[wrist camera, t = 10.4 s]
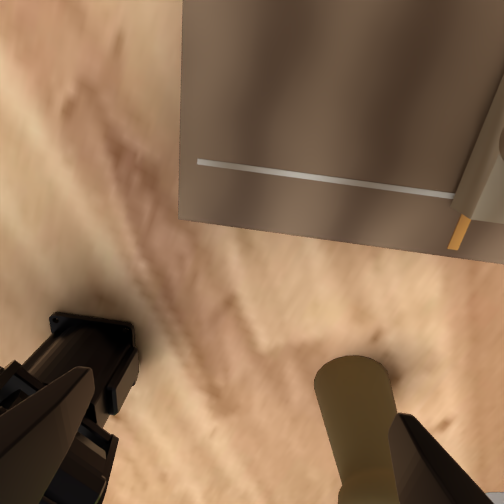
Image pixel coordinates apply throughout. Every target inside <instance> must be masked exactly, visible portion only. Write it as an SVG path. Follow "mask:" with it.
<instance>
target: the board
mask: <svg viewBox="0 0 504 504" xmlns="http://www.w3.org/2000/svg"><path fill="white" fill-rule="evenodd" d="M503 75H504V0H183V15H182V61H181V107H180V154H179V200H178V219H180V220H187V221H194V222H202V223H209V224H216V225H223V226H230V227H238V228H245V229H252V230H259V231H266V232H274V233H281V234H288V235H295V236H303V237H310V238H317V239H324V240H331V241H339V242H346V243H353V244H360V245H367V246H375V247H382V248H389V249H396V250H403V251H411V252H418V253H425V254H432V255H440V256H447V257H454V258H461V259H468V260H476V261H483V262H490V263H497V264H504V224H501V223H493V222H486V221H479V220H471V219H469V218H467V217H466V216H464V215H463V214H461V213H459V212H458V211H456V210H455V209H453V208H451V207H450V206H451V204H452V201H453V199H454V196H455V194H456V191H457V189H458V186H459V184H460V181H461V179H462V176H463V174H464V171H465V169H466V166H467V164H468V161H469V159H470V156H471V154H472V151H473V149H474V146H475V144H476V142H477V139H478V137H479V134H480V132H481V129H482V127H483V124H484V122H485V119H486V117H487V114H488V112H489V109H490V107H491V104H492V102H493V99H494V97H495V94H496V92H497V89H498V87H499V84H500V82H501V79H502V77H503Z"/></svg>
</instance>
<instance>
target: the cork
mask: <svg viewBox="0 0 504 504" xmlns="http://www.w3.org/2000/svg"><path fill="white" fill-rule="evenodd" d="M314 389H315V393H316V396H317V400H318V403H319V406H320V410H321V413H322V417H323V420H324V424H325V427H326V430H327V434H328V437H329V441H330V444H331V448H332V451H333V454H334V458H335V461H336V465H337V468H338V471H339V475H340V478H341V482H342V487H341V489H340V491H339V495H338V504H400V503H399V499H398V494H397V489H396V483H395V477H394V471H393V465H392V460H391V454H390V448H389V442H388V431H389V428H390V426H391V424H392V422H393V420H394V417H395V415H396V414H397V409H396V405H395V400H394V396H393V392H392V387H391V383H390V379H389V376H388V373H387V371H386V369H385V368H384V367H383V366H382V365H381V364H380V363H378V362H376V361H374V360H373V359H371V358H367V357H362V356H345V357H341V358H337V359H334V360H332V361H330V362H328V363H327V364H325V365H324V366H323V367H322V368H321V369H320V370H319V371H318V372H317V375H316V377H315V379H314Z"/></svg>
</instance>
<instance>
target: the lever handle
mask: <svg viewBox="0 0 504 504" xmlns="http://www.w3.org/2000/svg"><path fill="white" fill-rule="evenodd" d="M450 207H451V208H453V209H455V210H456V211H458V212H459V213H461V214H463V215H464V216H466V217H467V218H469V219H471V220H479V221H486V222H493V223H501V224H504V75H503V77H502V79H501V82H500V84H499V87H498V89H497V92H496V94H495V97H494V99H493V102H492V104H491V107H490V109H489V112H488V114H487V117H486V119H485V122H484V124H483V127H482V129H481V132H480V134H479V137H478V139H477V142H476V144H475V146H474V149H473V151H472V154H471V156H470V159H469V161H468V164H467V166H466V169H465V171H464V174H463V176H462V179H461V181H460V184H459V186H458V189H457V191H456V194H455V196H454V199H453V201H452V204H451V206H450Z"/></svg>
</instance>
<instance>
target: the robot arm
mask: <svg viewBox="0 0 504 504" xmlns="http://www.w3.org/2000/svg"><path fill="white" fill-rule="evenodd" d="M56 318H57V319H58V320H57V319H56ZM49 322H50V327H51V332H52V334H51V335H50V336H49V338H48V339H47V340H46V341H45V342H44V343H43V344H42V345H41V346H40V347H39V348H38V349H37V350H36V351H35V352H34V353H33V354H32V355H31V356H30V357H29V358H28V359H27V360H26V361H25V362H24V363H23V365H21V364H20V363H18V362H17V361H16V360H14V361H12V362H11V363H10V364H8V365H7V366H6V367H5V368H3V367H1V366H0V504H102V502H103V500H104V496H105V493H106V489H107V485H108V481H109V477H110V473H111V469H112V465H113V461H114V457H115V453H116V449H117V445H118V441H119V438H117V437H116V436H115V435H113V434H110V433H108V432H107V431H106V430H104V429H103V427H104V425H105V423H106V421H107V419H108V417H109V415H116V414H117V413H118V412H119V410H120V408H121V407H122V405H123V403H124V401H125V399H126V397H127V395H128V393H129V391H130V389H131V387H132V386H134V385H135V383H136V381H137V375H138V373H139V362H138V350H137V348H136V347H135V332H134V326H133V325H132V324H131V323H129V322H122V321H115V320H108V319H101V318H94V317H87V316H80V315H74V314H67V313H60V312H55V313H53V314H52V315H51V316H50V317H49ZM125 328H127V329H128V330H127V329H125ZM388 442H389V448H390V454H391V460H392V465H393V471H394V477H395V483H396V489H397V494H398V499H399V503H400V504H494V503H493V502H492V500H491V499H490V498H489V497H488V496H487V495H486V494H485V493H484V492H483V491H482V490H481V489H480V487H479V486H478V485H477V484H476V483H475V482H474V481H473V480H472V479H471V478H470V477H469V475H468V474H467V473H466V472H465V471H464V470H463V469H462V468H461V467H460V466H459V465H458V464H457V462H456V461H455V460H454V459H453V458H452V457H451V456H450V455H449V454H448V453H447V452H446V450H445V449H444V448H443V447H442V446H441V445H440V444H439V443H438V442H437V441H436V440H435V439H434V437H433V436H432V435H431V434H430V433H429V432H428V431H427V430H426V429H425V428H424V427H423V425H422V424H421V423H420V422H419V421H418V420H417V419H416V418H415V417H414V416H413V415H411V414H406V413H397V414H396V415H395V417H394V420H393V422H392V424H391V426H390V428H389V431H388Z"/></svg>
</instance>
